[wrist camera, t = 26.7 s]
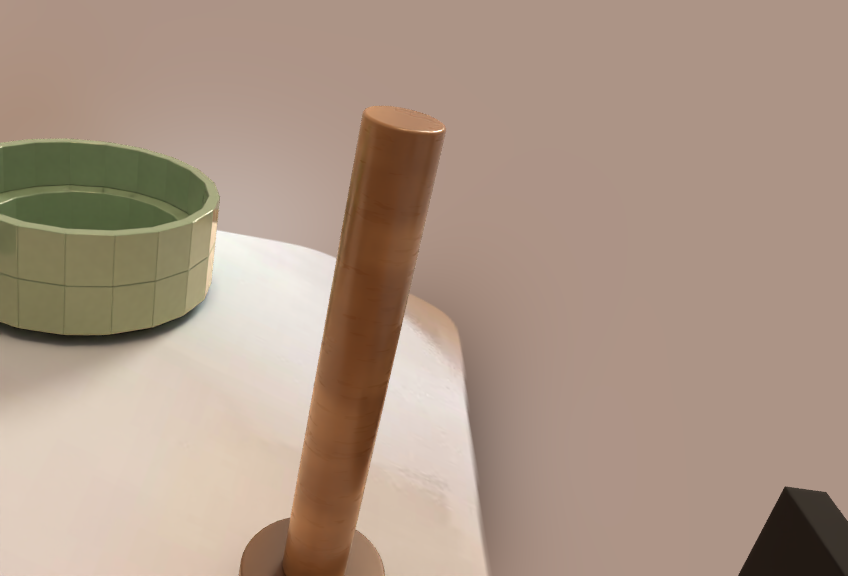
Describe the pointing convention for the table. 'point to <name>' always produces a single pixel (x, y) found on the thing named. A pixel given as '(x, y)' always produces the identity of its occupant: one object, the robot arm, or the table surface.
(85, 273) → the bowl
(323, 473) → the brown rod with base
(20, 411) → the table surface
